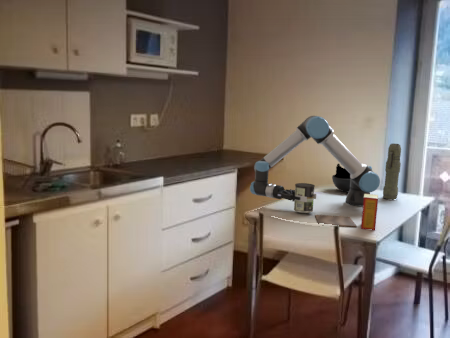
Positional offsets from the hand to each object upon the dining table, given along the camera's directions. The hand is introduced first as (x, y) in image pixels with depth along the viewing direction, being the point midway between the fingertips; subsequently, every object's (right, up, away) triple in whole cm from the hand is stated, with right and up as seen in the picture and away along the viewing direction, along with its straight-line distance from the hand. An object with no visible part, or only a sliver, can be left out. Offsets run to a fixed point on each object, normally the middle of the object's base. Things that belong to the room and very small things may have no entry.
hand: (311, 198), depth 255 cm
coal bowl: (+36, 0, +68) cm, 77 cm away
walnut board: (+10, -11, -11) cm, 19 cm away
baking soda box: (+25, -13, -19) cm, 34 cm away
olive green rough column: (+60, -4, +53) cm, 80 cm away
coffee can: (-4, -7, +4) cm, 9 cm away
